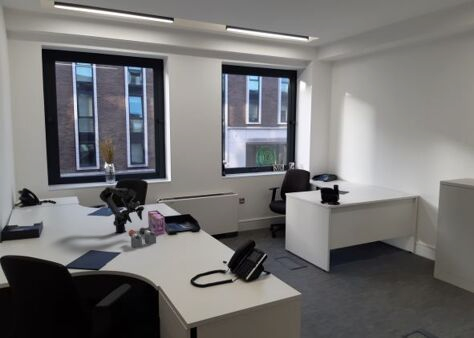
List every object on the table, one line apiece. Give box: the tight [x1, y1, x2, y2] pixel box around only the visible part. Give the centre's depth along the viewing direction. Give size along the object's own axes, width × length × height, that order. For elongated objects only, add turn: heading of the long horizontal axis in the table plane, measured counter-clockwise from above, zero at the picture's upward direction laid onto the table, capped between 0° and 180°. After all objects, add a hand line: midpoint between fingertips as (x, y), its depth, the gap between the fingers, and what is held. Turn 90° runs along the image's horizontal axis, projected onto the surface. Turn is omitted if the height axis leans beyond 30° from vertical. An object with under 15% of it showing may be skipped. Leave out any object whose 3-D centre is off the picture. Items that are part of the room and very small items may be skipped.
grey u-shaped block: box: [144, 230, 157, 246], centre depth 261 cm, size 6×6×8 cm
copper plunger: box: [127, 229, 138, 238], centre depth 258 cm, size 9×5×5 cm, turn 34°
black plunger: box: [139, 226, 151, 236], centre depth 264 cm, size 9×5×5 cm, turn 49°
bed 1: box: [130, 233, 143, 249], centre depth 254 cm, size 6×6×8 cm
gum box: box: [147, 209, 166, 235], centre depth 291 cm, size 24×8×14 cm, turn 27°
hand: (136, 221), depth 272 cm, fingers open, 9 cm apart
